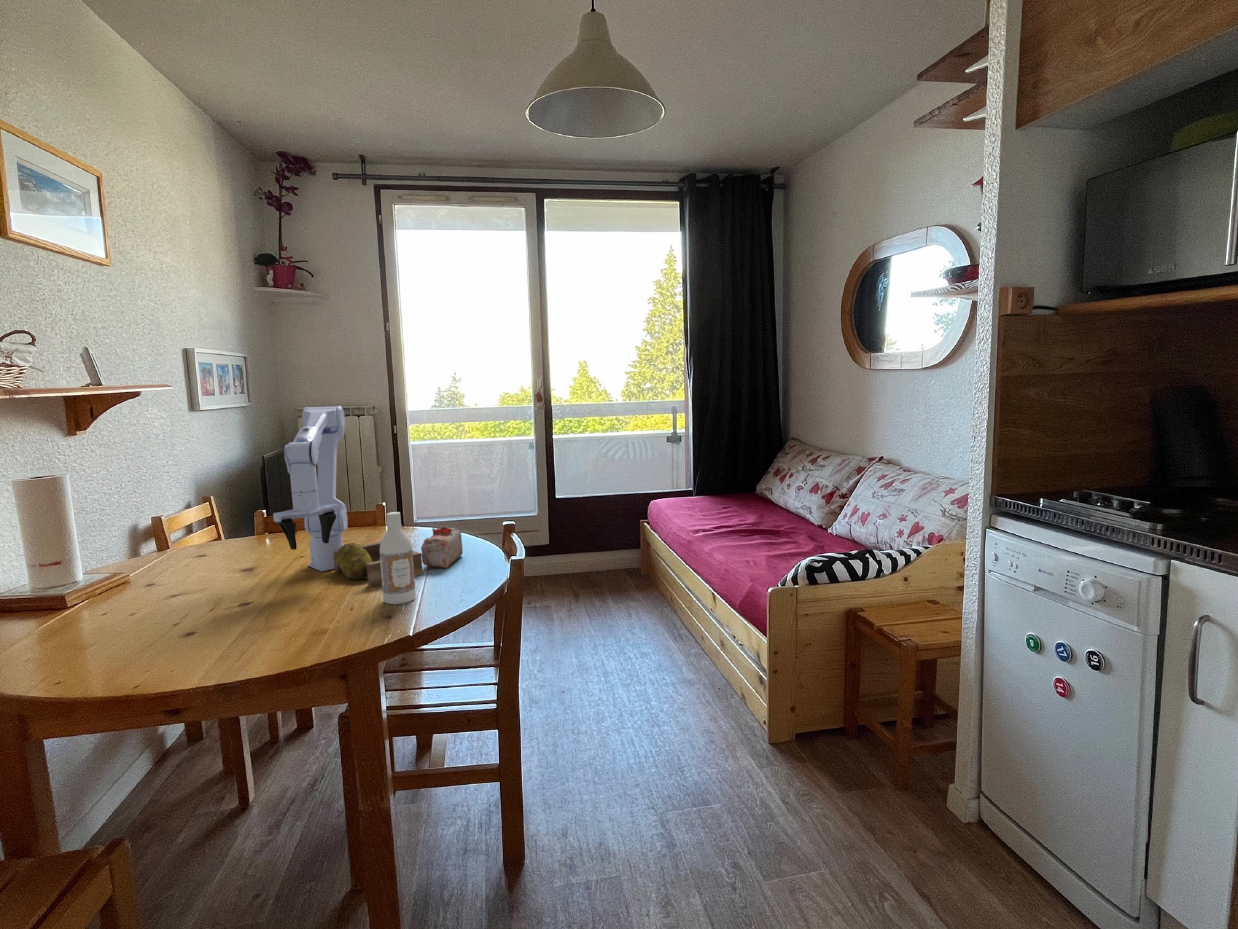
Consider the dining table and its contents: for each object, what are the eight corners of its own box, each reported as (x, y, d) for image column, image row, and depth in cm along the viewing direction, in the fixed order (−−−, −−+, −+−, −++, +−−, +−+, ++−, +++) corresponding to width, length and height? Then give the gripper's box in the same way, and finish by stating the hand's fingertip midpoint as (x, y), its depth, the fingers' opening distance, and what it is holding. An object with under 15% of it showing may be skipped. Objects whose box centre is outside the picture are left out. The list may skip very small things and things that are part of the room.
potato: (339, 585, 158) (337, 553, 157) (336, 572, 170) (334, 542, 169) (375, 579, 162) (373, 548, 161) (370, 568, 173) (368, 538, 172)
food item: (449, 570, 169) (447, 533, 168) (420, 570, 170) (417, 533, 169) (465, 556, 183) (463, 522, 182) (437, 556, 183) (435, 522, 182)
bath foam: (387, 607, 141) (380, 517, 139) (380, 599, 147) (373, 512, 144) (419, 600, 145) (413, 513, 142) (410, 593, 151) (404, 508, 148)
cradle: (335, 571, 170) (332, 547, 170) (383, 560, 180) (381, 537, 179) (372, 587, 156) (369, 560, 155) (422, 574, 166) (420, 549, 165)
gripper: (279, 497, 148) (284, 554, 150) (341, 488, 159) (346, 542, 160) (268, 494, 153) (273, 550, 155) (329, 485, 164) (334, 538, 165)
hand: (309, 545), depth 158 cm, fingers open, 7 cm apart
